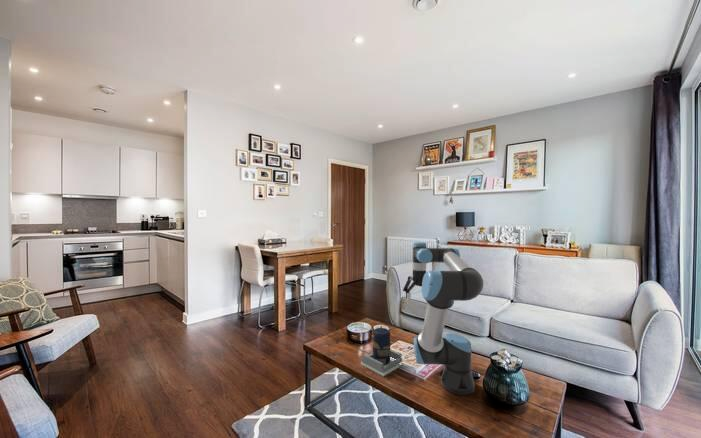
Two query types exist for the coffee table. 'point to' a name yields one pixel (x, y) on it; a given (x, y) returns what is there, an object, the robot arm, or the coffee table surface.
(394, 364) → the grey square tray
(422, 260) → the robot arm
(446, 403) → the coffee table surface
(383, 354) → the canister
